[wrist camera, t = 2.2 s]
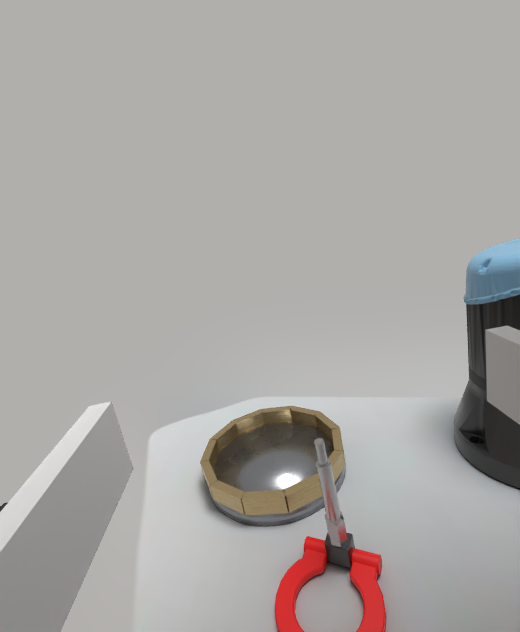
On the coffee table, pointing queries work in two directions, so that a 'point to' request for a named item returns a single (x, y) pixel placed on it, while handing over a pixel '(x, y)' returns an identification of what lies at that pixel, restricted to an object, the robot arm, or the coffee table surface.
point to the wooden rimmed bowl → (271, 465)
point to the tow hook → (332, 561)
